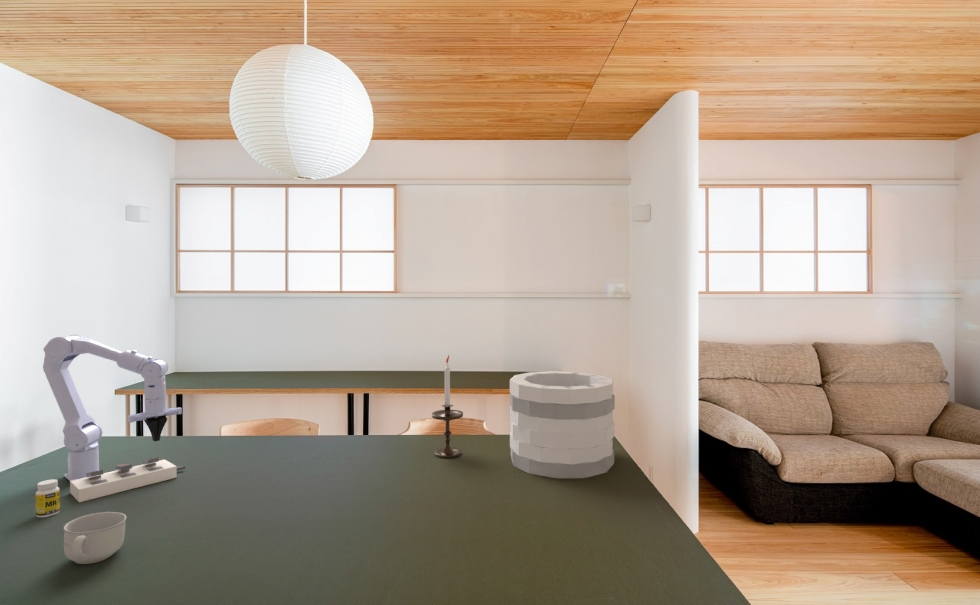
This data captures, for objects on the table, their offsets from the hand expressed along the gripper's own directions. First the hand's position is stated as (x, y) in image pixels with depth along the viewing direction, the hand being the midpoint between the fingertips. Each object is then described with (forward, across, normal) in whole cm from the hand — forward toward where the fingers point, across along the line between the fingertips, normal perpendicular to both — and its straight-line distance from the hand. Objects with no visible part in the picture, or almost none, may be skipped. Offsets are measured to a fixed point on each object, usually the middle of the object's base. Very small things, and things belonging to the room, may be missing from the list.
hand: (156, 440), depth 164 cm
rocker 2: (+5, -10, -4) cm, 12 cm away
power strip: (+10, -8, -6) cm, 14 cm away
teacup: (+10, -28, -51) cm, 59 cm away
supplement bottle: (+10, -29, -14) cm, 34 cm away
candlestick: (+10, +71, -60) cm, 94 cm away
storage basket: (+10, +91, -94) cm, 131 cm away
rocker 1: (+5, -17, -4) cm, 18 cm away
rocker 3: (+5, -3, -4) cm, 7 cm away
